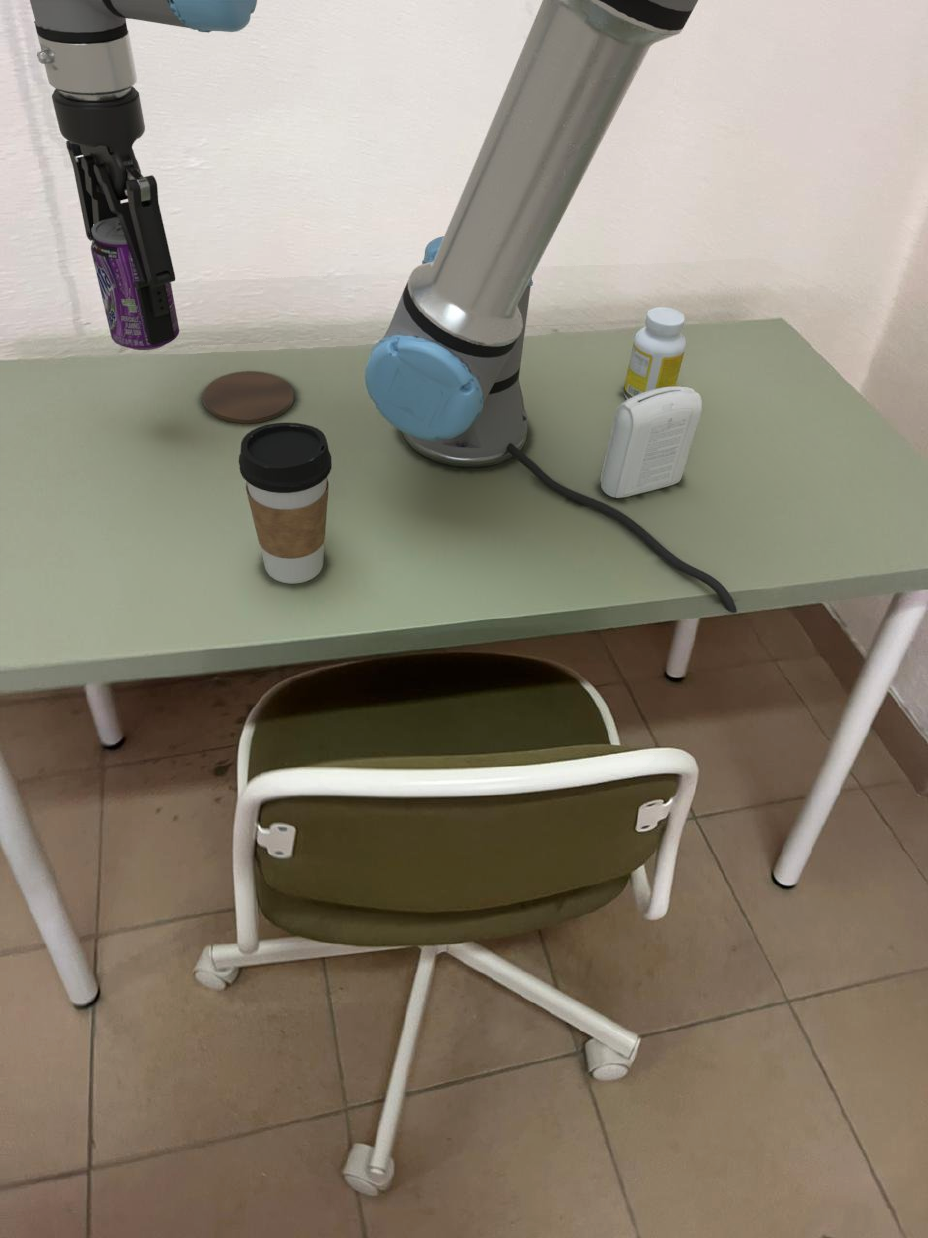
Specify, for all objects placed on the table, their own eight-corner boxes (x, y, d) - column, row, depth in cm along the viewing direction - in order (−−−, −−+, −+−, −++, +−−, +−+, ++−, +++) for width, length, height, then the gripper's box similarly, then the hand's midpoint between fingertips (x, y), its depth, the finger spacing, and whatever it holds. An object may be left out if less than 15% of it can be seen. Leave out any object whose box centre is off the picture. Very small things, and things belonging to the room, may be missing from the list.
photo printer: (664, 463, 110) (690, 372, 101) (685, 484, 107) (713, 392, 99) (593, 482, 106) (613, 389, 97) (613, 504, 104) (635, 410, 95)
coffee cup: (321, 599, 90) (314, 476, 79) (239, 583, 90) (221, 459, 80) (346, 545, 95) (342, 424, 85) (268, 531, 96) (256, 408, 86)
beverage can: (118, 322, 101) (93, 213, 93) (184, 323, 102) (165, 214, 93) (107, 355, 96) (79, 242, 88) (176, 355, 97) (155, 243, 89)
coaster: (310, 404, 114) (310, 400, 113) (233, 433, 108) (232, 429, 108) (263, 366, 119) (262, 362, 119) (187, 392, 114) (186, 387, 113)
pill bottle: (678, 396, 121) (701, 314, 113) (659, 417, 117) (680, 334, 109) (634, 379, 123) (653, 298, 115) (614, 399, 119) (631, 317, 111)
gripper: (7, 65, 85) (69, 299, 101) (106, 126, 75) (157, 375, 91) (84, 54, 89) (132, 282, 105) (188, 111, 79) (223, 353, 95)
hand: (144, 325), depth 98 cm, fingers closed on beverage can, 7 cm apart
